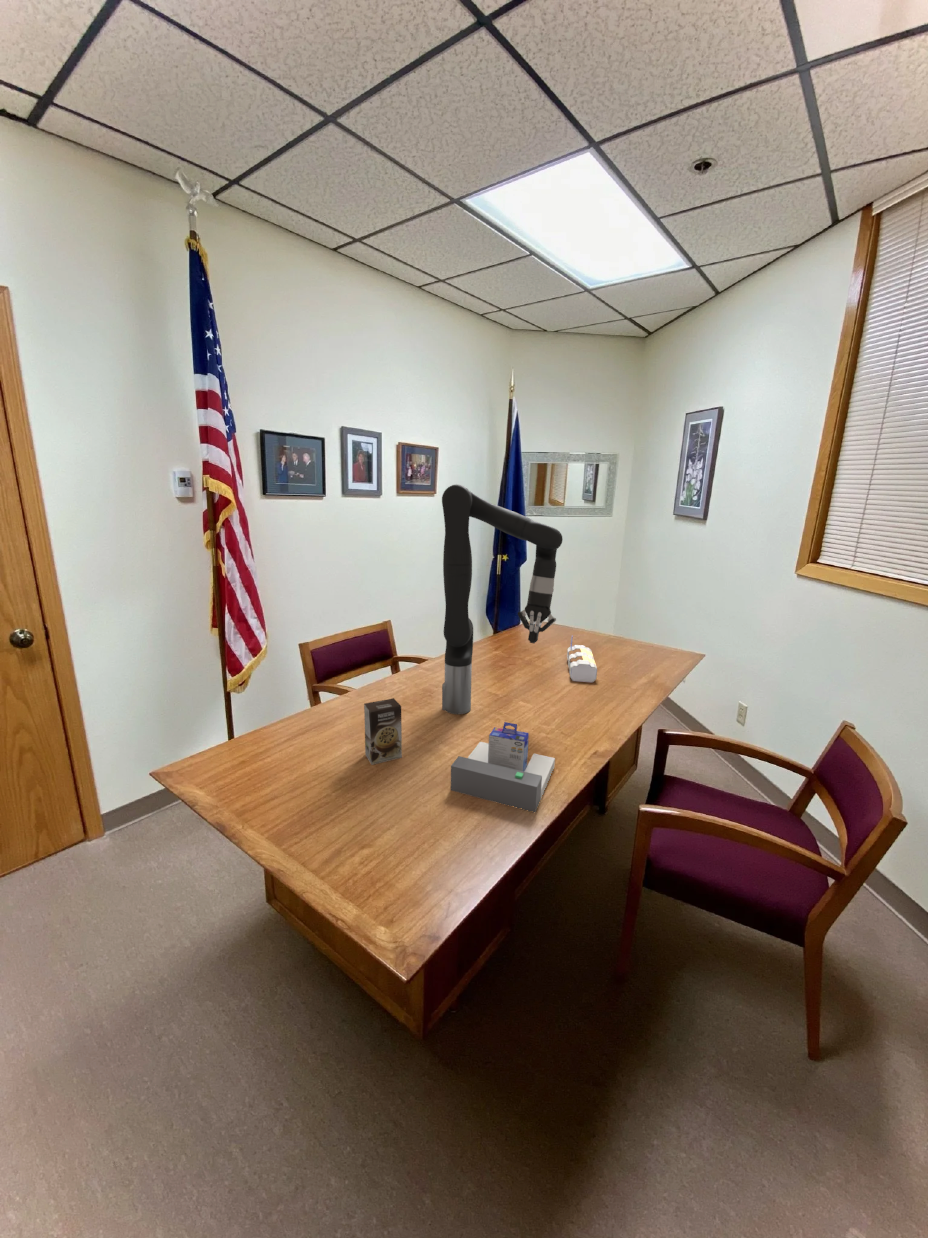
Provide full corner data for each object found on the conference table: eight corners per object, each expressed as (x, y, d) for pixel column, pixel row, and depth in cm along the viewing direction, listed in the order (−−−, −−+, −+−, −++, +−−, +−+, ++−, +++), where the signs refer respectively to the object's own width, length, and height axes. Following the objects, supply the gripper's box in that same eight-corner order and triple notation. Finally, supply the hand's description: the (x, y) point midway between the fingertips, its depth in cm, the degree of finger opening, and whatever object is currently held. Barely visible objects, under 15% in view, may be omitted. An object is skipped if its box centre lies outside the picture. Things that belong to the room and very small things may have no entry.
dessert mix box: (371, 765, 133) (369, 712, 128) (364, 754, 138) (362, 702, 134) (402, 758, 137) (401, 705, 132) (395, 747, 142) (394, 697, 138)
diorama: (566, 660, 219) (568, 633, 215) (589, 662, 217) (592, 634, 214) (569, 681, 195) (572, 650, 191) (595, 683, 193) (598, 652, 190)
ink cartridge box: (527, 772, 130) (530, 724, 127) (523, 784, 125) (526, 733, 122) (492, 765, 134) (494, 718, 130) (486, 776, 128) (488, 727, 125)
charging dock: (450, 790, 122) (450, 763, 120) (479, 750, 141) (480, 727, 139) (535, 812, 114) (537, 784, 112) (554, 767, 133) (556, 743, 131)
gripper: (518, 587, 154) (509, 640, 157) (558, 595, 149) (549, 649, 152) (524, 586, 160) (516, 637, 163) (563, 593, 156) (554, 645, 159)
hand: (532, 642), depth 158 cm, fingers closed
